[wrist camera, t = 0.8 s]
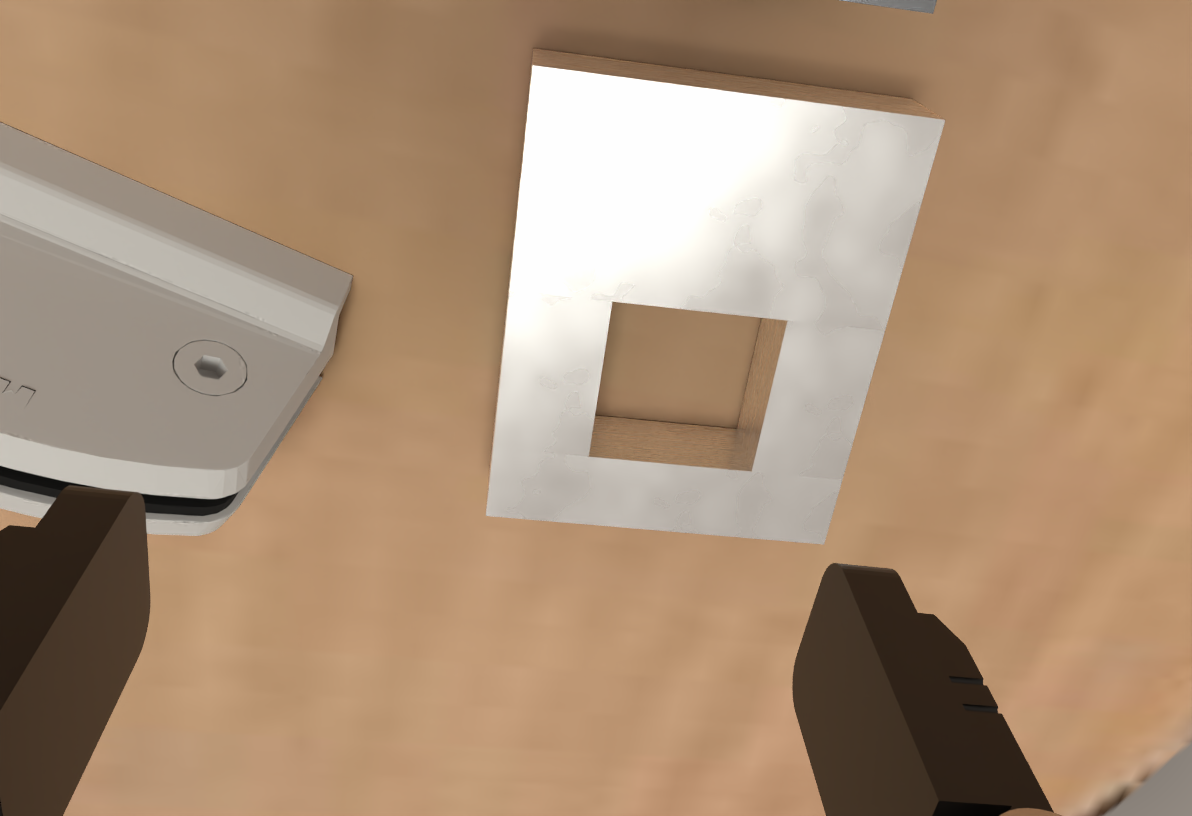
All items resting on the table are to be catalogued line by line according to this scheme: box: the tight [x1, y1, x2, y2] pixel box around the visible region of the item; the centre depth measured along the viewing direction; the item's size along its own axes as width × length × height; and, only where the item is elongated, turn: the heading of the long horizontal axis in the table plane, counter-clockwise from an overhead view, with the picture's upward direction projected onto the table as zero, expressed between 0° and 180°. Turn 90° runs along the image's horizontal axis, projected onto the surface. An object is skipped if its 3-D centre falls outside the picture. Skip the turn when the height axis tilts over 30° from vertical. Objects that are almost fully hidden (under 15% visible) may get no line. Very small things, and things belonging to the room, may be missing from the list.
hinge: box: [0, 122, 353, 536], centre depth 31 cm, size 17×5×10 cm, turn 63°
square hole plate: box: [486, 48, 945, 544], centre depth 34 cm, size 15×12×3 cm
